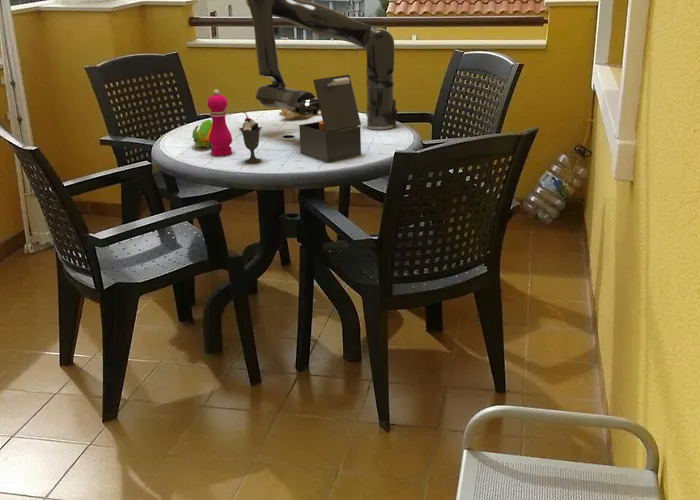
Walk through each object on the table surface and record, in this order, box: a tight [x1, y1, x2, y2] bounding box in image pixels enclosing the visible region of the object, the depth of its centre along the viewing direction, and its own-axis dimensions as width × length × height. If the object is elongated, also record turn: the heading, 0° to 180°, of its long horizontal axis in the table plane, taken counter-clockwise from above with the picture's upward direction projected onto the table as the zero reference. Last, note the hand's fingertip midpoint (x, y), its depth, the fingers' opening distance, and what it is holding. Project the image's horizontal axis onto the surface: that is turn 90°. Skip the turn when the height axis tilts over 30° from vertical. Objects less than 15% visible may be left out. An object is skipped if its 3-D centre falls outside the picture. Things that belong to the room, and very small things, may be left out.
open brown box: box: [298, 121, 362, 163], centre depth 249 cm, size 15×13×9 cm
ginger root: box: [278, 108, 320, 120], centre depth 299 cm, size 16×16×8 cm
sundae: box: [238, 111, 263, 164], centre depth 242 cm, size 7×7×15 cm
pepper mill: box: [206, 89, 233, 157], centre depth 250 cm, size 7×7×20 cm
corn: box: [191, 119, 212, 148], centre depth 265 cm, size 7×8×20 cm
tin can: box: [318, 119, 336, 133], centre depth 250 cm, size 5×5×9 cm
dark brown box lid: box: [313, 74, 362, 132], centre depth 239 cm, size 16×13×6 cm
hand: (328, 109), depth 246 cm, fingers open, 8 cm apart
